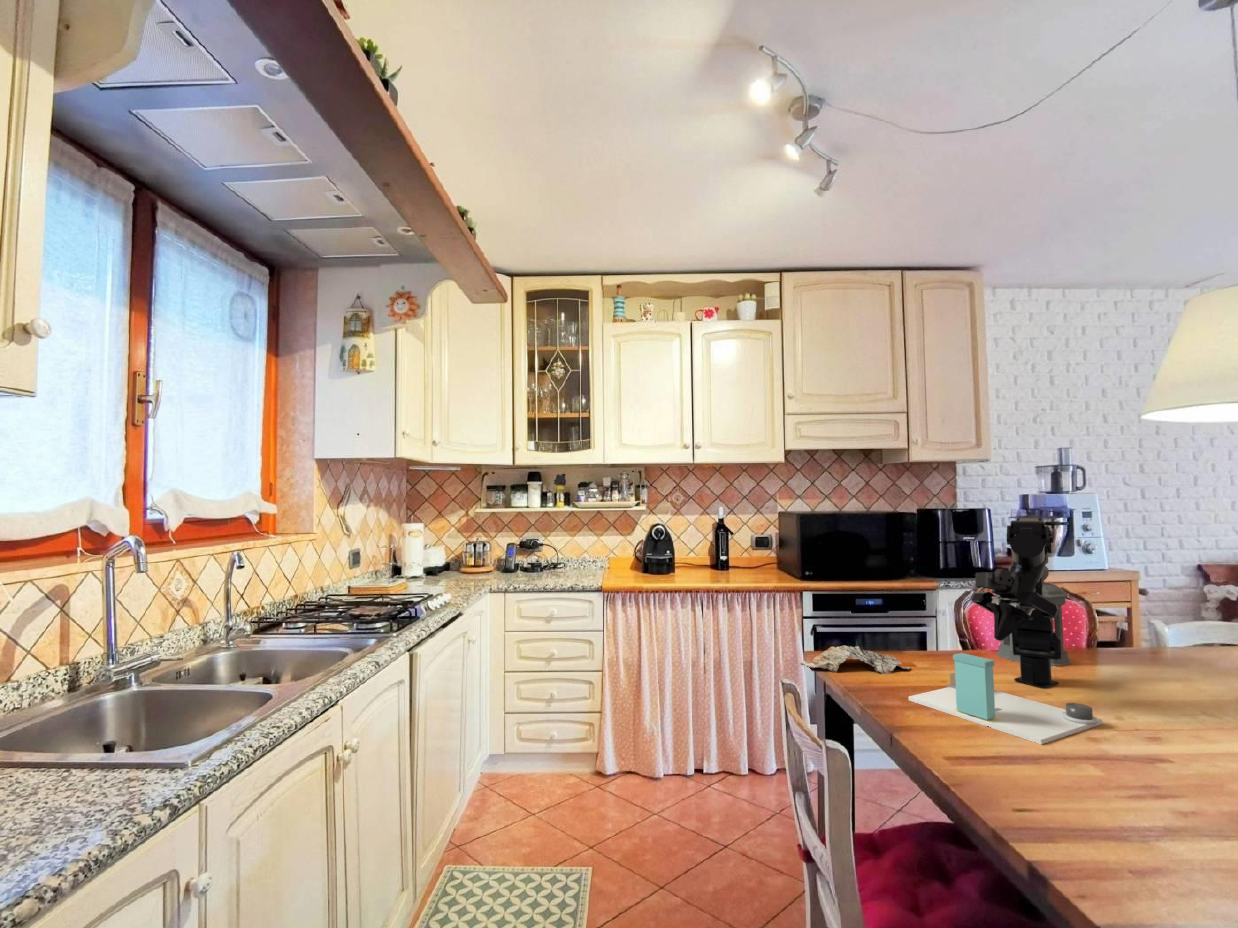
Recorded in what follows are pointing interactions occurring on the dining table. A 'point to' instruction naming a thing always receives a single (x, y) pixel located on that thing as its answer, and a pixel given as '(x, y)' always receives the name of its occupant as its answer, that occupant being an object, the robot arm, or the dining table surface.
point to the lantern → (1057, 597)
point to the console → (1017, 714)
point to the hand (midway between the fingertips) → (997, 639)
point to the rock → (839, 655)
